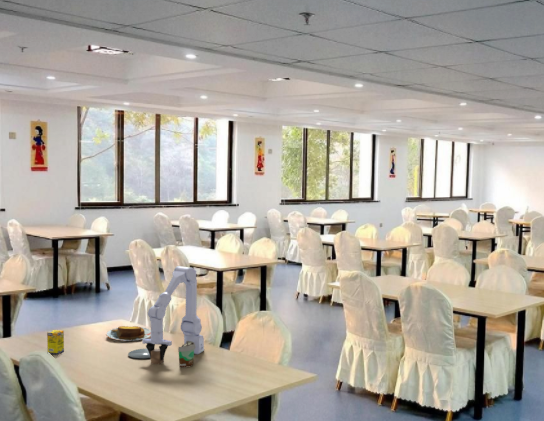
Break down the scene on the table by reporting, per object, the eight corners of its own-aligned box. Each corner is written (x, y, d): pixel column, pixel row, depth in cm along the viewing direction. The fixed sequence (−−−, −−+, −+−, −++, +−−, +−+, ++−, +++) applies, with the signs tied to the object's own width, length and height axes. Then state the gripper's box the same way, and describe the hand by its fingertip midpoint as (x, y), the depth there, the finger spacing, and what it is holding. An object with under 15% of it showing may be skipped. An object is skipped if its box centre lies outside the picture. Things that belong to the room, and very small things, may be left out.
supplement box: (57, 354, 335) (57, 333, 334) (47, 354, 337) (46, 332, 336) (64, 351, 341) (63, 330, 340) (54, 350, 342) (53, 329, 342)
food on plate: (150, 330, 385) (150, 319, 385) (156, 341, 362) (155, 329, 361) (104, 333, 378) (104, 322, 378) (107, 344, 354) (107, 332, 354)
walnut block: (163, 361, 323) (163, 349, 322) (159, 364, 318) (159, 351, 318) (155, 360, 324) (155, 348, 323) (150, 363, 320) (150, 351, 319)
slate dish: (166, 351, 339) (166, 349, 339) (151, 360, 324) (151, 358, 324) (138, 349, 344) (138, 347, 344) (122, 358, 329) (122, 356, 329)
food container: (191, 369, 311) (190, 347, 310) (178, 368, 312) (178, 347, 311) (199, 361, 323) (198, 340, 322) (187, 360, 324) (186, 340, 323)
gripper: (139, 332, 318) (139, 360, 319) (166, 334, 314) (167, 362, 315) (146, 328, 325) (146, 356, 326) (173, 330, 321) (173, 358, 322)
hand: (157, 359), depth 321 cm, fingers closed on walnut block, 4 cm apart
